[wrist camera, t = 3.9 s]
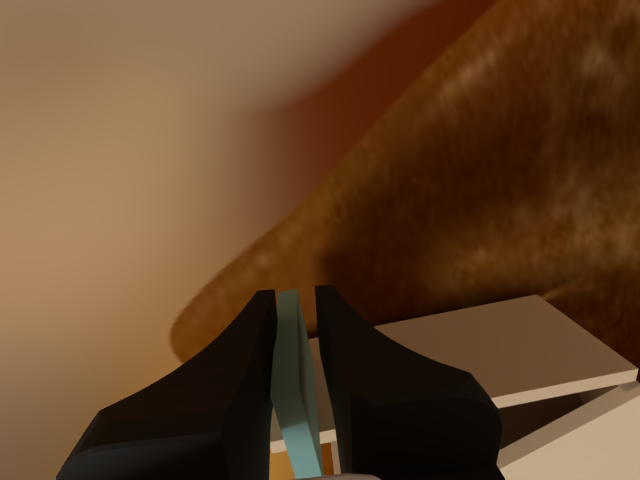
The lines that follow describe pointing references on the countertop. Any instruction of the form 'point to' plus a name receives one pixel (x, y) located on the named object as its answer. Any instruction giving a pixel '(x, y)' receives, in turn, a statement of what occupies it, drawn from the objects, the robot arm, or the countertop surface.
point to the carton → (570, 437)
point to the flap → (448, 348)
